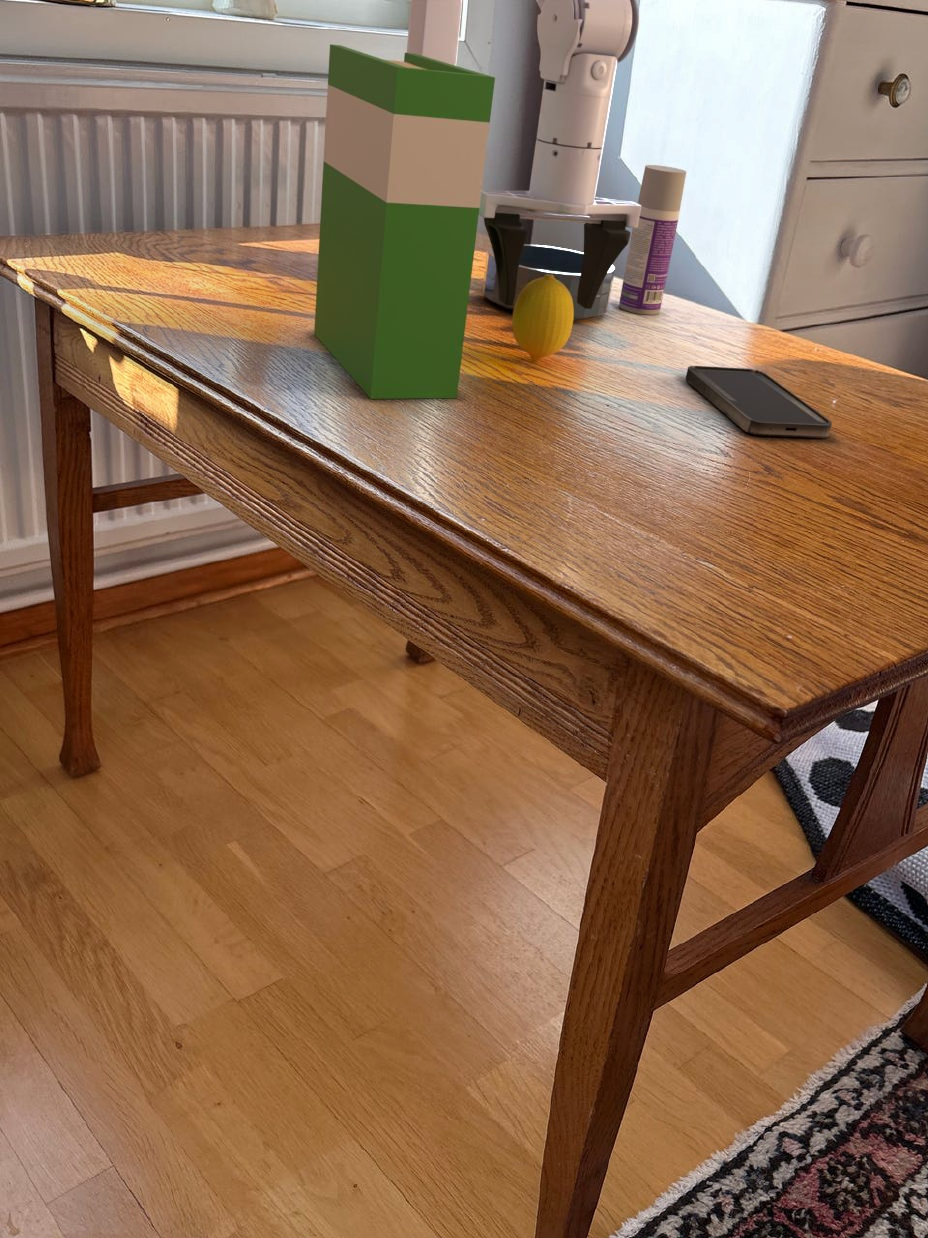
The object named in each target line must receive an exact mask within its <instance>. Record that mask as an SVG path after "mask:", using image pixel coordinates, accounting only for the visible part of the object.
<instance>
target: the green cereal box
mask: <svg viewBox="0 0 928 1238" xmlns="http://www.w3.org/2000/svg"><path fill="white" fill-rule="evenodd" d="M328 55H329V56H328V57H329V58H328V72H327V73H328V74H327V90H326V91H327V93H326V109H325V110H326V112H325V128H324V129H325V130H324V146H323V147H324V148H323V165H322V166H323V167H322V184H321V203H320V206H321V207H320V219H319V220H320V221H319V238H318V239H319V240H318V242H319V243H318V257H317V258H318V259H317V274H316V275H317V276H316V294H315V310H314V311H315V313H314V327H313V328H314V330H313V334H314V336H315V337H316V338H317V339H318V340H319V342H321V344H322V345H323V346H324V347H325V348H326V349H327V351H328V352H329V353H330V354H331V355H332V356H333V358H335V360H336V361H337V362H338V363H339V364H340V366H341V367H342V368H343V369H344V370H345V372H346V373H347V374H348V375H349V376H350V377H351V378H352V380H354V382H355V383H356V384H357V385H358V386H359V388H360V389H362V391H363V392H364V393H365V394H366V395H367V397H368V398H369V399H370V400H390V399H394V400H397V399H398V400H399V399H408V400H409V399H458V391H459V382H460V373H461V365H462V358H463V357H462V356H463V349H464V341H465V340H464V339H465V332H466V324H467V314H468V305H469V298H470V291H471V290H470V289H471V282H472V274H473V273H472V272H473V264H474V256H475V248H476V241H477V232H478V224H479V216H480V215H479V208H480V199H481V191H482V190H483V183H484V174H485V165H486V159H487V158H486V156H487V150H488V149H487V148H488V141H489V132H490V125H491V124H490V123H491V117H492V109H493V107H492V106H493V98H494V91H495V82H496V77H495V76H492V75H488V74H485V73H481V72H479V71H476V70H475V71H474V70H472V69H468V68H465V67H461V66H458V65H456V66H455V65H451V64H448V63H445V62H441V61H438V60H435V59H431V58H428V57H425V56H421V55H418V54H413V53H407V52H404V57H403V60H402V61H401V60H393V59H385V58H384V59H383V58H380V57H376V56H374V55H371V54H368V53H365V52H361V51H360V50H356V49H352V48H350V47H346V46H344V45H341V44H331V43H330V44H329V53H328Z"/></svg>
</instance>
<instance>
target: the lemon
mask: <svg viewBox="0 0 928 1238" xmlns="http://www.w3.org/2000/svg"><path fill="white" fill-rule="evenodd" d="M573 318H574V308H573V300H572V297H571V294H570V292H569V291H568V289H567V288H566V287H565V286H564V285H563V284H562V283H561V282H560V281H558V280H556V279H555V277H554V276H553V275H551V274H546V275H545V276H544V277H542V278H538V279H535V280H533V281H531V282H530V283H528V284H527V285H526V286H525V287H524V288H523V289H522V291H521V292H520V294H519V296H518V298H517V301H516V304H515V307H514V311H512V319H511V322H512V324H511V325H512V326H511V327H512V333H513V337H514V339H515V342H516V343H517V345H518V346H519V347H520V349H522V351H524V352H525V353H527V354H528V355H529V357H530V358H531V360H532V361H534V362H537V363H539V362H541V361H542V360H544V359H545V358H546V357H548V356H552V355H554V354H556V353H557V352H559V351H560V350H561V349H562V348H563V347H564V346H565V345H566V343H567V342H568V340H569V338H570V336H571V333H572V330H573V324H574V320H573Z"/></svg>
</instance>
